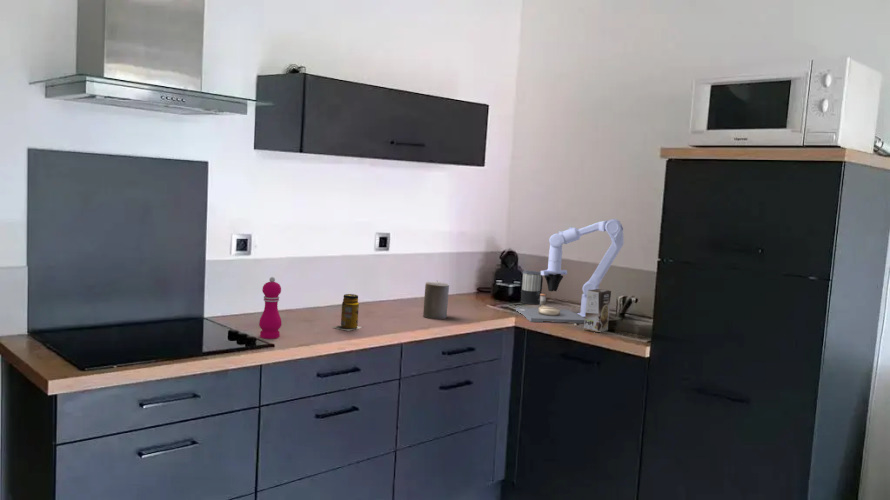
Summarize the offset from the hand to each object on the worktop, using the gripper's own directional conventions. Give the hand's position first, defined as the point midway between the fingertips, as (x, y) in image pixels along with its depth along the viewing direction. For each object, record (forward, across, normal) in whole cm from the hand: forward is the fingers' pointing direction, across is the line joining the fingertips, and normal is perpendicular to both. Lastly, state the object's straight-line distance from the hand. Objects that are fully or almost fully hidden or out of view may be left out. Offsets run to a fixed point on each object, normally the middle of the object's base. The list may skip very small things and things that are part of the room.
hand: (552, 291), depth 322 cm
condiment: (+10, +102, -1) cm, 103 cm away
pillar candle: (+10, +58, -7) cm, 60 cm away
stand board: (+9, +9, +9) cm, 16 cm away
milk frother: (+10, -7, -25) cm, 28 cm away
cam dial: (+8, +9, +6) cm, 14 cm away
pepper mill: (+10, +134, +3) cm, 134 cm away
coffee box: (+10, +11, +36) cm, 39 cm away
